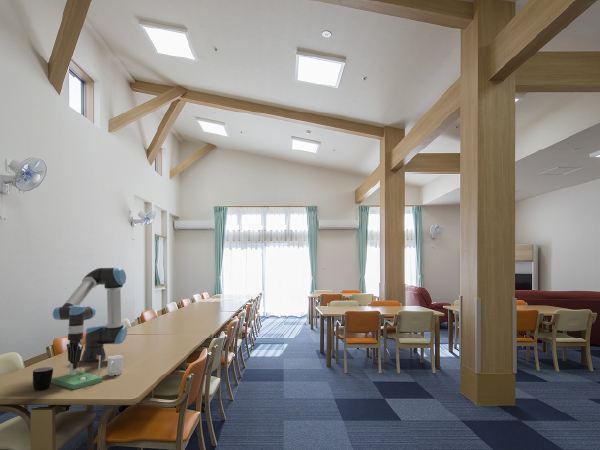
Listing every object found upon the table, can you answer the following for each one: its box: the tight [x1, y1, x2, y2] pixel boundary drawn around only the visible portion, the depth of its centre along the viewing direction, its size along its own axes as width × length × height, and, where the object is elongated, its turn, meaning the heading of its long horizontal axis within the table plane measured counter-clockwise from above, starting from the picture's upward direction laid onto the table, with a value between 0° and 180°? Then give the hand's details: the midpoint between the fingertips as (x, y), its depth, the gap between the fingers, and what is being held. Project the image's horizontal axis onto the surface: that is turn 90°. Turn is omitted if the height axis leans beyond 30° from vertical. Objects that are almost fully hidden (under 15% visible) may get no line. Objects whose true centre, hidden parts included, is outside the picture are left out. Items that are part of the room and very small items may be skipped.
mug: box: [32, 366, 54, 392], centre depth 200 cm, size 12×9×10 cm
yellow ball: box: [77, 367, 86, 374], centre depth 220 cm, size 3×3×3 cm
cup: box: [106, 354, 124, 377], centre depth 227 cm, size 8×12×10 cm
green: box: [51, 355, 104, 391], centre depth 212 cm, size 22×16×14 cm
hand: (73, 374), depth 215 cm, fingers closed
